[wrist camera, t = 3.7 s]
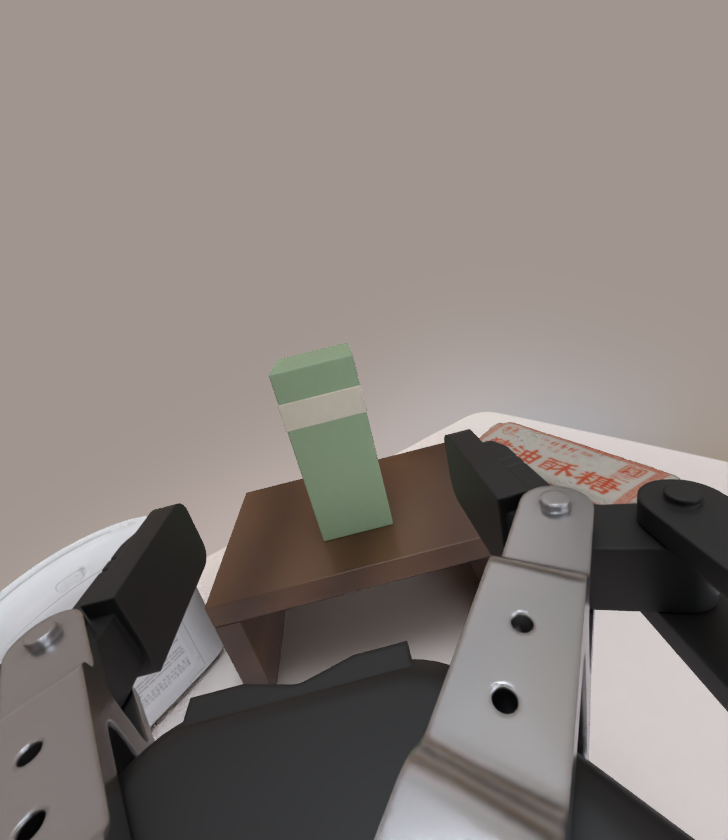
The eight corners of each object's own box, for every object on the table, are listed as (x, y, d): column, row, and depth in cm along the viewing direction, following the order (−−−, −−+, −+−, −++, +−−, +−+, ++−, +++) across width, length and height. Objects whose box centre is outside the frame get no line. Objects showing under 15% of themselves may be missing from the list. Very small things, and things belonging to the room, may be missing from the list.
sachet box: (323, 543, 23) (267, 375, 19) (322, 506, 27) (276, 360, 23) (394, 524, 23) (353, 354, 19) (384, 490, 27) (348, 341, 23)
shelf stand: (252, 701, 23) (203, 608, 20) (275, 564, 34) (246, 492, 32) (530, 628, 24) (521, 527, 21) (463, 516, 35) (451, 440, 32)
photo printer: (204, 622, 30) (136, 494, 26) (236, 644, 27) (166, 506, 23) (58, 760, 23) (-74, 614, 18) (83, 807, 20) (-64, 650, 16)
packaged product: (705, 461, 27) (615, 522, 24) (698, 515, 29) (614, 579, 25) (511, 407, 43) (441, 439, 39) (515, 444, 44) (448, 478, 41)
